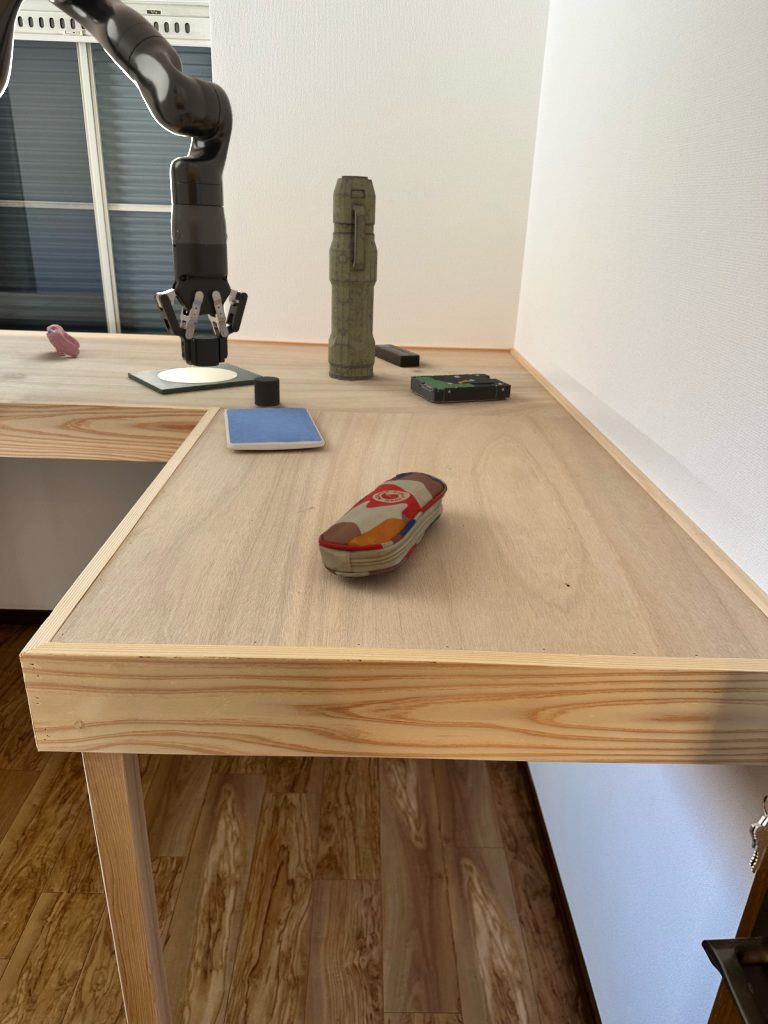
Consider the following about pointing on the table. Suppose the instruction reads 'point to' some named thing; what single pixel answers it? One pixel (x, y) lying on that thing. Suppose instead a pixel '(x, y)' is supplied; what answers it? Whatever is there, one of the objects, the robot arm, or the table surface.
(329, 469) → the table surface
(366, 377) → the thermos
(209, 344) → the dark round peg
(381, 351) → the multiport hub
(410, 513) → the pencil case
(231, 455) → the table surface
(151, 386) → the board
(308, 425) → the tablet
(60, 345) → the pink bird figurine
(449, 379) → the disk drive
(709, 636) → the table surface
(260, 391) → the black cylinder puck
